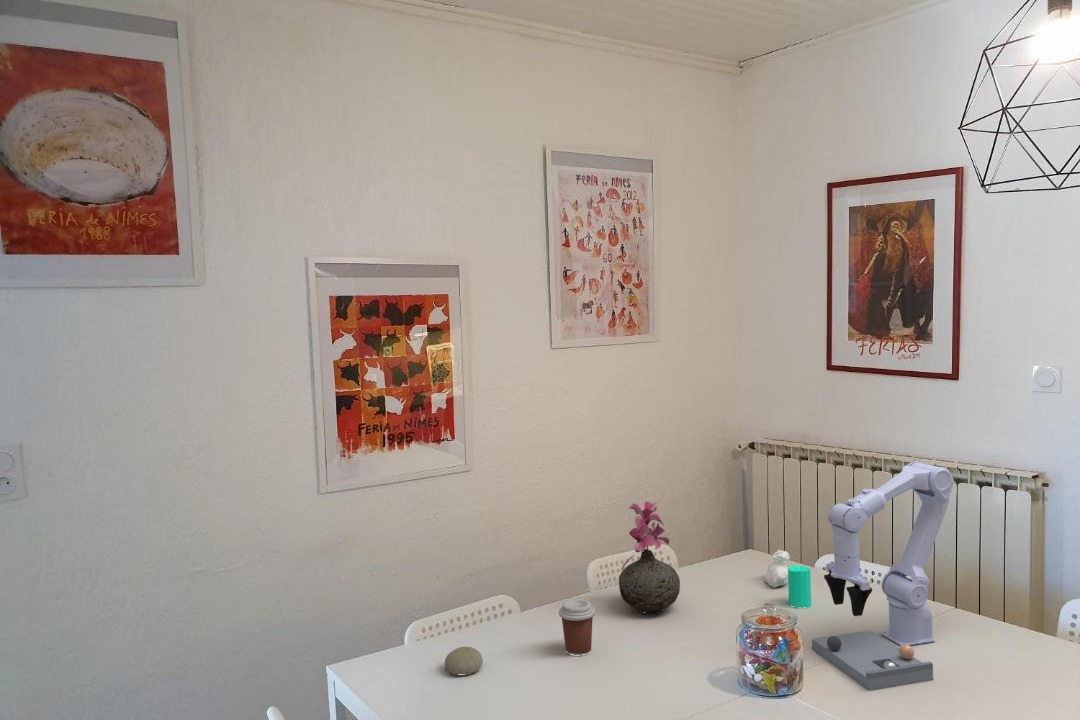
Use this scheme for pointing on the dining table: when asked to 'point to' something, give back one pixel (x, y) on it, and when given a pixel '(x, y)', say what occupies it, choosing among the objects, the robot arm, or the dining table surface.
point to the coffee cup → (577, 625)
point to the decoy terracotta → (906, 651)
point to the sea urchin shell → (463, 661)
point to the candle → (799, 586)
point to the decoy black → (834, 643)
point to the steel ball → (888, 665)
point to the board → (873, 660)
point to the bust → (778, 569)
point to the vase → (648, 568)
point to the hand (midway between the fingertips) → (847, 609)
